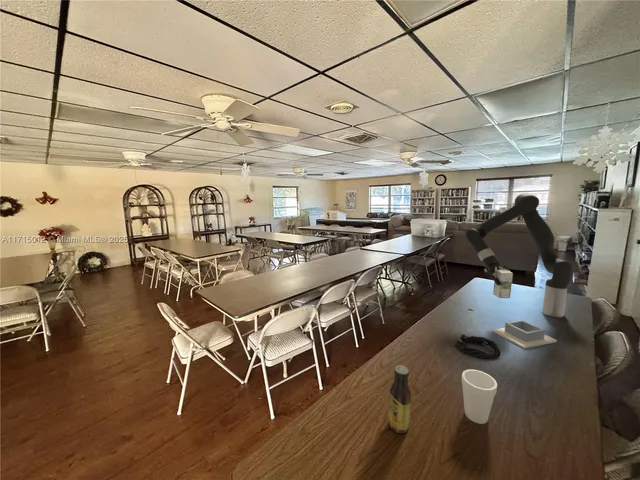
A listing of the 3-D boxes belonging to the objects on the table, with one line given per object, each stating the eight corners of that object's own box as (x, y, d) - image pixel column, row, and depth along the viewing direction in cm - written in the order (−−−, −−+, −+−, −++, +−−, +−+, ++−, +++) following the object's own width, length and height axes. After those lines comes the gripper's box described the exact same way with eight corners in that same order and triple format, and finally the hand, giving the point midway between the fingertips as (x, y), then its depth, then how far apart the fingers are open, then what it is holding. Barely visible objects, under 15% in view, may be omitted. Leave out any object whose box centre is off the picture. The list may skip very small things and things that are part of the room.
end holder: (523, 326, 138) (524, 316, 137) (556, 342, 122) (558, 331, 122) (493, 331, 133) (493, 321, 132) (524, 348, 118) (525, 337, 117)
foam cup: (480, 432, 77) (483, 394, 74) (453, 409, 85) (455, 374, 83) (500, 421, 80) (504, 384, 78) (472, 400, 89) (475, 366, 87)
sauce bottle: (385, 418, 82) (386, 362, 79) (404, 416, 83) (406, 360, 80) (392, 436, 76) (394, 376, 73) (413, 434, 76) (415, 374, 73)
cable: (504, 352, 116) (505, 343, 115) (494, 366, 107) (495, 356, 106) (463, 337, 128) (464, 329, 128) (451, 348, 120) (452, 340, 119)
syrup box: (503, 294, 143) (506, 269, 141) (510, 298, 137) (513, 272, 135) (493, 294, 144) (495, 269, 141) (499, 298, 138) (501, 272, 135)
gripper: (482, 255, 142) (499, 282, 133) (502, 253, 146) (521, 279, 136) (473, 262, 148) (489, 288, 139) (493, 260, 152) (510, 285, 142)
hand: (505, 284), depth 138 cm, fingers closed on syrup box, 7 cm apart
